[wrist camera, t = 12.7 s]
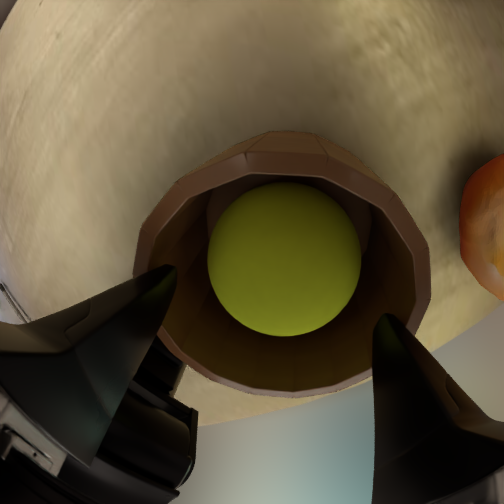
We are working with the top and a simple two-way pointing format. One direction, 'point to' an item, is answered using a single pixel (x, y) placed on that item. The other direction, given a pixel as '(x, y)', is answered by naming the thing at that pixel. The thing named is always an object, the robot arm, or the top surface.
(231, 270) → the ball
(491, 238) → the fruit
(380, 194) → the bucket
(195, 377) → the top surface
